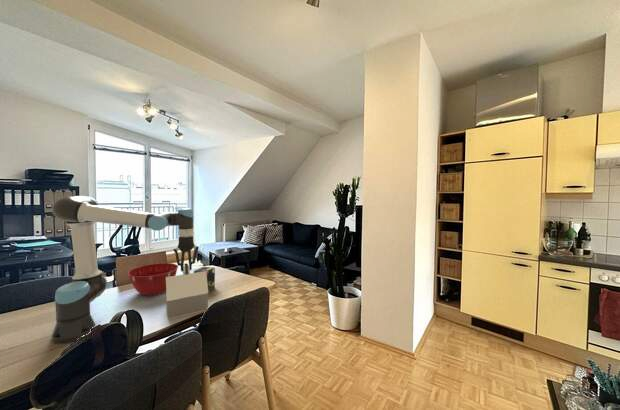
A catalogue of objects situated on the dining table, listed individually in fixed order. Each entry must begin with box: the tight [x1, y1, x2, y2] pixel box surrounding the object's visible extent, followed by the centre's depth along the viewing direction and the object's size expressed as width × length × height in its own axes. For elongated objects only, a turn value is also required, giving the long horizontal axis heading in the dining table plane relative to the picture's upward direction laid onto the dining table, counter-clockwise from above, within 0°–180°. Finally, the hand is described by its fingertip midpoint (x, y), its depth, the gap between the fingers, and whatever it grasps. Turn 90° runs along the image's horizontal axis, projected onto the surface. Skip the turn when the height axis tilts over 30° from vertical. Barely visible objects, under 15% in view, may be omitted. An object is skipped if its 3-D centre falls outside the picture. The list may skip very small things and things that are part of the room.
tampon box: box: [193, 266, 216, 293], centre depth 172 cm, size 11×9×15 cm
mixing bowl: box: [127, 262, 179, 297], centre depth 168 cm, size 28×28×16 cm
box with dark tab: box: [165, 262, 209, 301], centre depth 144 cm, size 21×18×6 cm
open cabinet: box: [165, 292, 209, 320], centre depth 144 cm, size 20×12×10 cm, turn 123°
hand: (186, 276), depth 145 cm, fingers closed on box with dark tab, 2 cm apart
